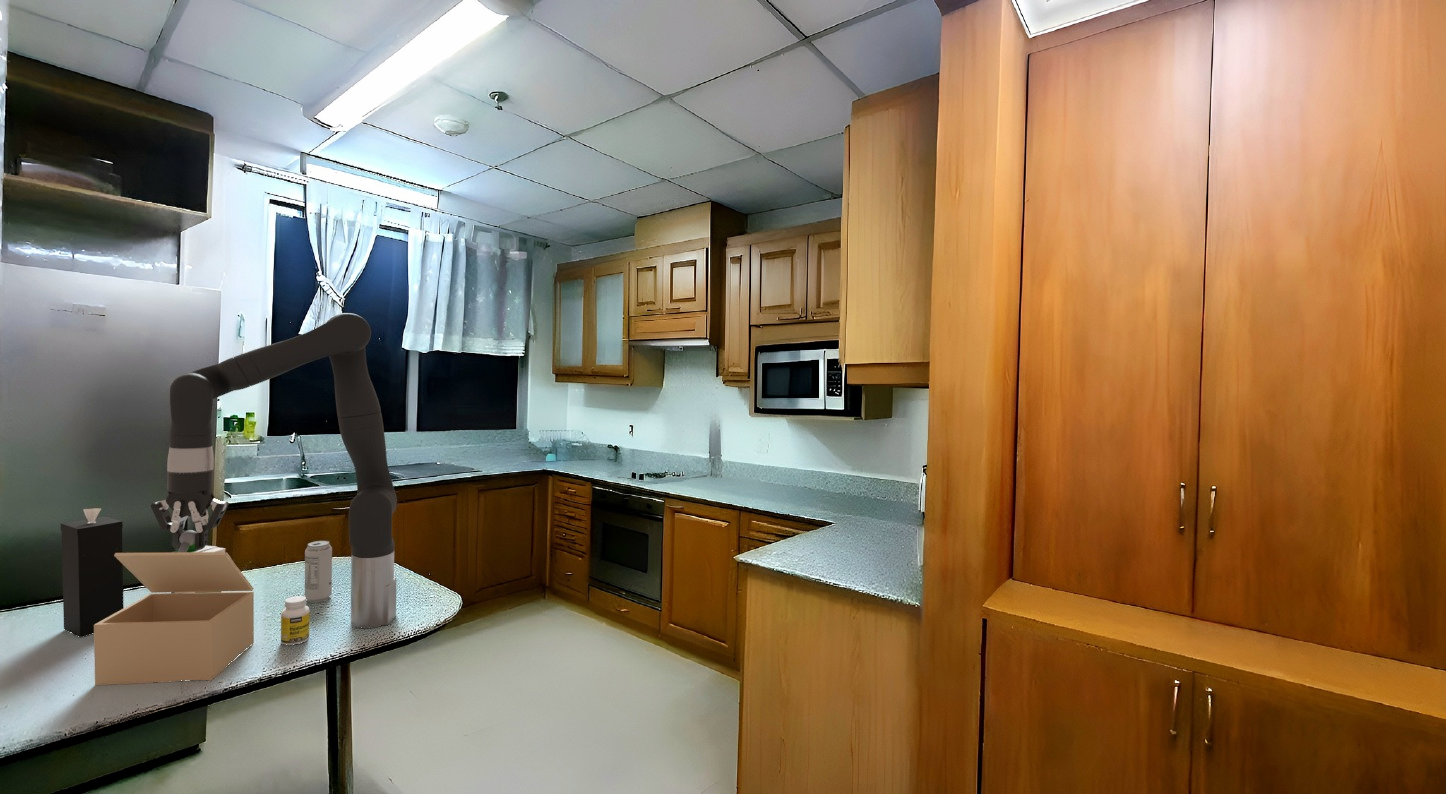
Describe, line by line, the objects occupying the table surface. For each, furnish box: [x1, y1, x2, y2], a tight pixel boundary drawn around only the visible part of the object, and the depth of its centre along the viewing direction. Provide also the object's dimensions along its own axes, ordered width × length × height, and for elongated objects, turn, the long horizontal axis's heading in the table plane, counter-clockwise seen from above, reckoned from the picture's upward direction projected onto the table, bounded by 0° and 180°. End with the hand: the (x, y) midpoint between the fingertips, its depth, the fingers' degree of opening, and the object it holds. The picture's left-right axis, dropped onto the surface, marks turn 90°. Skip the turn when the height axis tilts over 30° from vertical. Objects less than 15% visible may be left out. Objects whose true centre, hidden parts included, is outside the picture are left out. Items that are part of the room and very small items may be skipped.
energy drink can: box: [304, 540, 333, 604], centre depth 171 cm, size 6×6×15 cm
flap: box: [114, 529, 254, 594], centre depth 139 cm, size 20×16×7 cm
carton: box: [93, 591, 255, 686], centre depth 135 cm, size 20×16×12 cm
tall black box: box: [60, 507, 125, 638], centre depth 148 cm, size 8×8×28 cm
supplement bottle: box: [280, 595, 311, 646], centre depth 147 cm, size 5×5×10 cm
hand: (189, 548), depth 137 cm, fingers closed on flap, 3 cm apart
